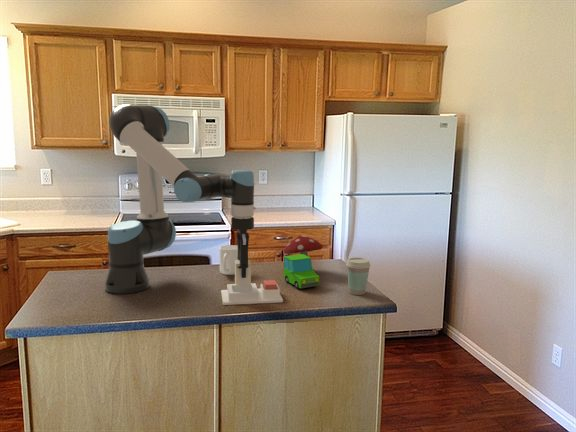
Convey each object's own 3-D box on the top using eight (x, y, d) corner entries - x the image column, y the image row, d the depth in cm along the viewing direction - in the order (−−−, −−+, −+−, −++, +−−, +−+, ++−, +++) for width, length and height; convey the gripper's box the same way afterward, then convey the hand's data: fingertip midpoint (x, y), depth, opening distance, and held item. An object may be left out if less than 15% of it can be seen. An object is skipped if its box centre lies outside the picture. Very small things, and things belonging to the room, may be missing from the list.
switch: (265, 290, 167) (265, 284, 167) (263, 285, 172) (263, 280, 172) (276, 290, 168) (276, 284, 167) (274, 285, 173) (274, 279, 172)
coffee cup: (370, 290, 179) (372, 258, 177) (366, 297, 171) (368, 264, 169) (347, 287, 181) (349, 256, 179) (342, 294, 173) (343, 261, 171)
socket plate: (222, 304, 161) (222, 295, 161) (221, 292, 174) (221, 282, 173) (283, 302, 165) (283, 292, 164) (276, 289, 177) (277, 280, 177)
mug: (233, 278, 190) (233, 252, 188) (213, 277, 191) (213, 251, 189) (242, 270, 201) (242, 245, 199) (223, 268, 203) (223, 244, 201)
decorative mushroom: (282, 276, 193) (282, 239, 190) (283, 265, 209) (284, 231, 206) (322, 277, 193) (324, 240, 190) (321, 266, 208) (322, 232, 206)
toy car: (297, 292, 175) (298, 265, 174) (281, 282, 187) (281, 256, 185) (322, 288, 180) (323, 262, 178) (304, 278, 192) (305, 253, 190)
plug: (236, 287, 165) (235, 258, 163) (235, 282, 170) (234, 254, 168) (250, 286, 166) (250, 257, 164) (249, 282, 171) (249, 254, 169)
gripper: (257, 221, 156) (256, 291, 160) (251, 212, 173) (250, 275, 177) (233, 221, 154) (233, 292, 158) (229, 212, 172) (229, 276, 176)
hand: (242, 283), depth 168 cm, fingers closed on plug, 5 cm apart
